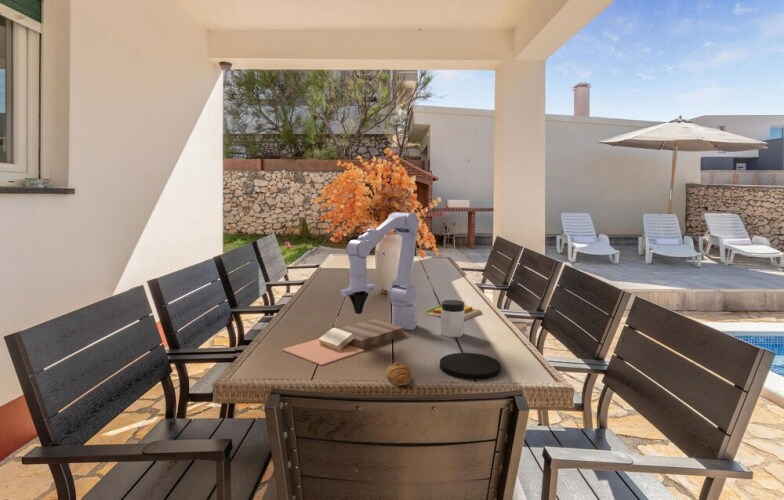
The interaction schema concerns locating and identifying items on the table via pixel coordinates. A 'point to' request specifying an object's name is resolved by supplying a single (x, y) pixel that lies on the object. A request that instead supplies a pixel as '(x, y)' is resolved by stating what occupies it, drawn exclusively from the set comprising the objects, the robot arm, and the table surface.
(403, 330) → the walnut board
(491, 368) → the wireless charger
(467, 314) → the wooden puzzle
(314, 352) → the terracotta mat
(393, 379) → the pastry
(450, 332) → the jar
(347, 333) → the birch tile
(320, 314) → the table surface
